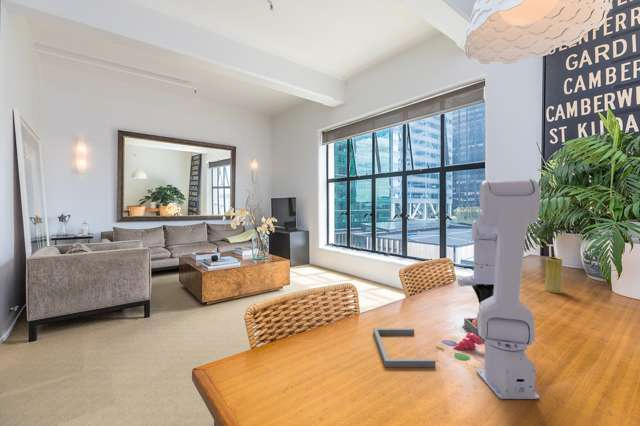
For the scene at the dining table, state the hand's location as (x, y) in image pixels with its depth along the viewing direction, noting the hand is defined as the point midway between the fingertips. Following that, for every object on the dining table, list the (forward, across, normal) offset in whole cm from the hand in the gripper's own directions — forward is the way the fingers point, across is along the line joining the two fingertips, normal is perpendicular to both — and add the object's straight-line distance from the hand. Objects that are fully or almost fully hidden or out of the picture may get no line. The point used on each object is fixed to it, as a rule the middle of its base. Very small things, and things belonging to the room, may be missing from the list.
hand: (484, 310), depth 83 cm
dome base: (+8, -1, -4) cm, 9 cm away
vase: (+8, -52, -43) cm, 68 cm away
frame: (+8, +25, +5) cm, 27 cm away
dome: (+7, -1, -4) cm, 8 cm away
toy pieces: (+9, +11, +6) cm, 15 cm away
